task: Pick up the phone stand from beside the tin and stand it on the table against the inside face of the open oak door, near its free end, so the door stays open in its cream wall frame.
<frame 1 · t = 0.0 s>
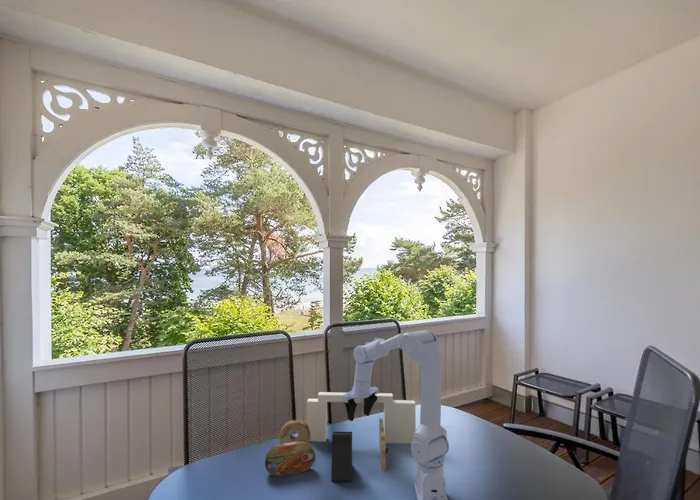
hand: (358, 417, 123), 11 cm above the table, tool pointing down, fingers open, 6 cm apart
tin: (289, 472, 109), on the table
door: (383, 442, 119), point 4 cm above the table, hinge at 90.0°
door frame: (356, 440, 129), on the table
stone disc: (294, 450, 122), on the table
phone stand: (342, 473, 108), on the table
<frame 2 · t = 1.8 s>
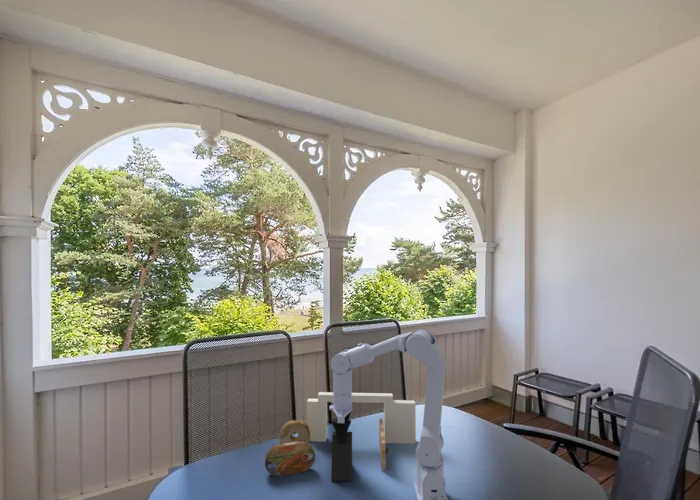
hand: (342, 437, 109), 10 cm above the table, tool pointing down, fingers open, 7 cm apart
nothing on the table moved.
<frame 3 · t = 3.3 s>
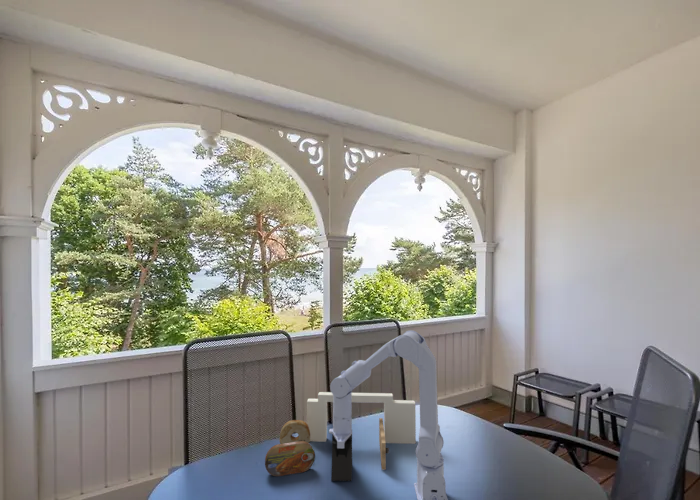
hand: (342, 461, 108), 3 cm above the table, tool pointing down, fingers closed on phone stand, 3 cm apart
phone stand: (342, 473, 108), on the table, touching gripper
everything else where it was.
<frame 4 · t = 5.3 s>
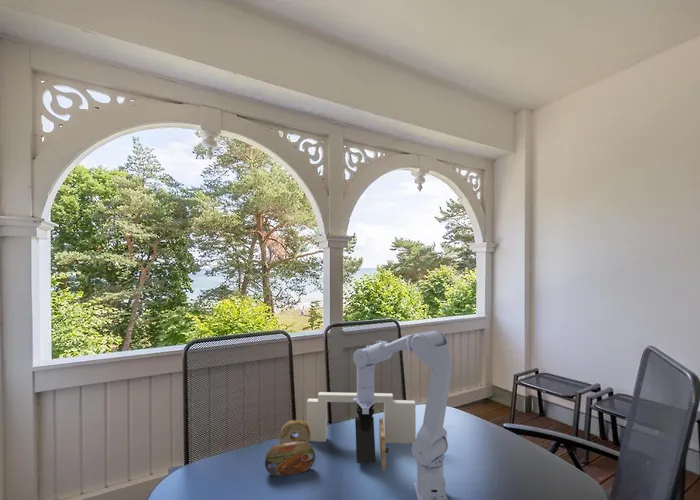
hand: (365, 428, 115), 10 cm above the table, tool pointing down, fingers closed on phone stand, 3 cm apart
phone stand: (366, 455, 115), point 2 cm above the table, touching gripper
everything else where it was.
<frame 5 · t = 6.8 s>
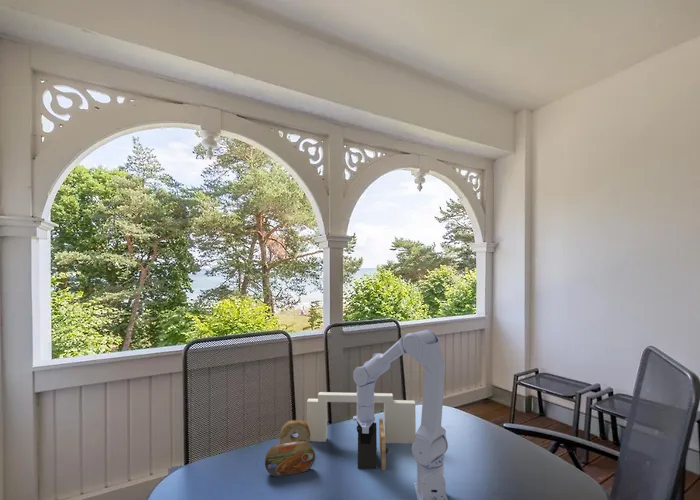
hand: (365, 446, 115), 5 cm above the table, tool pointing down, fingers closed on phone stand, 3 cm apart
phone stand: (367, 462, 115), on the table, touching gripper
everything else where it was.
when the fingers open (5 cm above the table, at t = 7.3 s): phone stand stays where it is, on the table.
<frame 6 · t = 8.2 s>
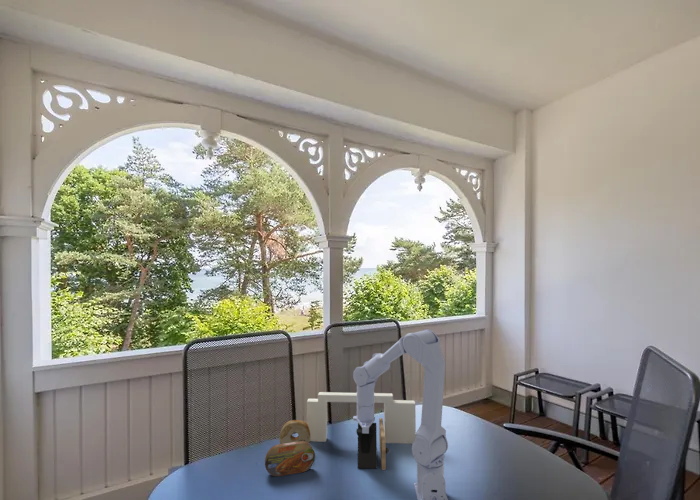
hand: (365, 446, 115), 5 cm above the table, tool pointing down, fingers open, 7 cm apart
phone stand: (367, 462, 115), on the table
everything else where it was.
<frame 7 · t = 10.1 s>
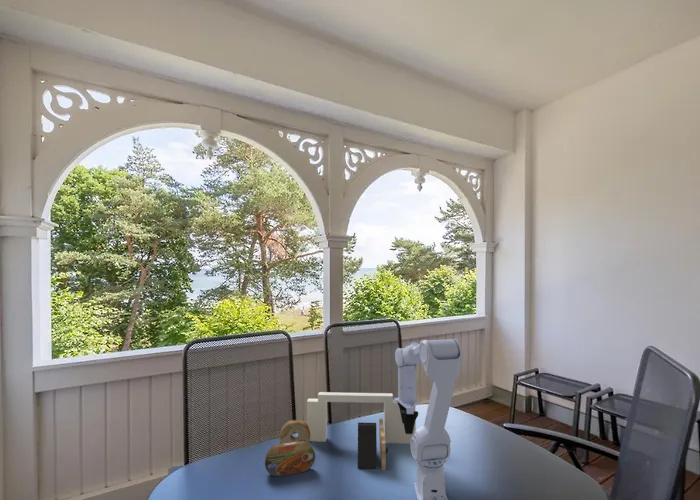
hand: (407, 428, 115), 10 cm above the table, tool pointing down, fingers open, 7 cm apart
nothing on the table moved.
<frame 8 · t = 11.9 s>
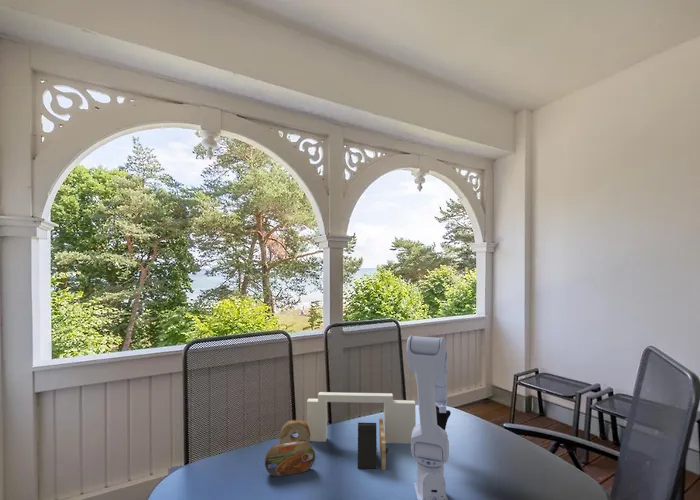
hand: (438, 427, 116), 10 cm above the table, tool pointing down, fingers open, 7 cm apart
nothing on the table moved.
at the end: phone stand inside the target area (0.6 cm from its centre), on the table; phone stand tilted 0°; door at +90° (first picture: +90°) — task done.
